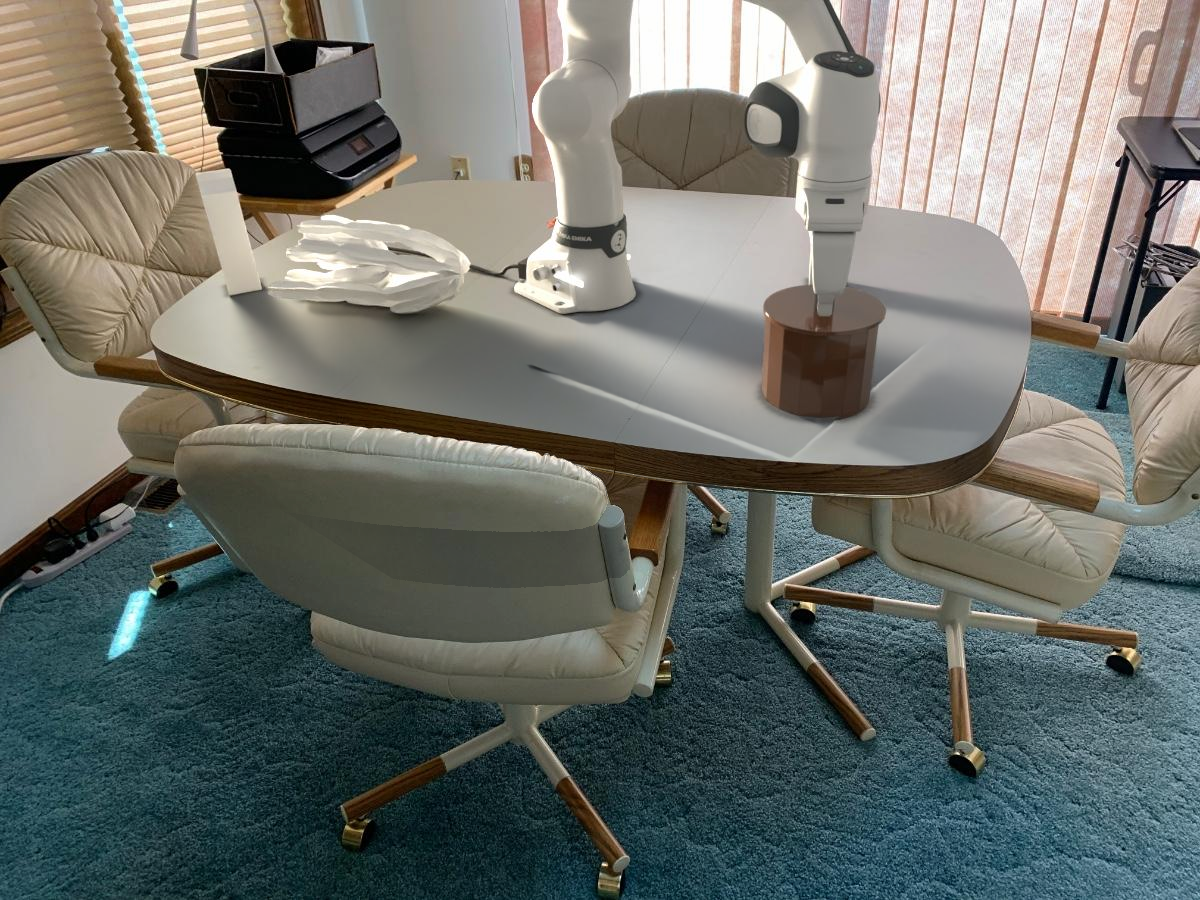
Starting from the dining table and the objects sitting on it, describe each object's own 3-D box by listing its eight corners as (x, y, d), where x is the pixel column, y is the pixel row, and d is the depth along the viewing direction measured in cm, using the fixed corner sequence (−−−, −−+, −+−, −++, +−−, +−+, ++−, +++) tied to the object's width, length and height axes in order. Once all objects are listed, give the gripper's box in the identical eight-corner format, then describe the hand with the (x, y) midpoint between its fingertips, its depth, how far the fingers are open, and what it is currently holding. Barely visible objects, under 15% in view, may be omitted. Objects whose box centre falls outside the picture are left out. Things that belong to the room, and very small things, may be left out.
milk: (262, 290, 172) (232, 172, 160) (228, 296, 170) (195, 177, 158) (258, 279, 177) (229, 164, 165) (226, 285, 175) (194, 169, 163)
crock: (742, 400, 127) (745, 317, 120) (795, 362, 136) (801, 282, 129) (837, 432, 119) (846, 344, 112) (887, 388, 128) (898, 305, 121)
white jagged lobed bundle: (490, 235, 163) (322, 221, 173) (445, 207, 146) (261, 193, 156) (477, 329, 163) (310, 310, 173) (430, 313, 146) (247, 292, 156)
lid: (740, 321, 120) (741, 284, 118) (800, 284, 130) (802, 249, 128) (849, 351, 112) (854, 312, 109) (905, 308, 122) (910, 271, 119)
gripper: (805, 173, 122) (798, 271, 129) (807, 222, 105) (799, 332, 112) (854, 173, 121) (844, 272, 128) (863, 222, 104) (852, 333, 111)
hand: (823, 300), depth 120 cm, fingers open, 7 cm apart
